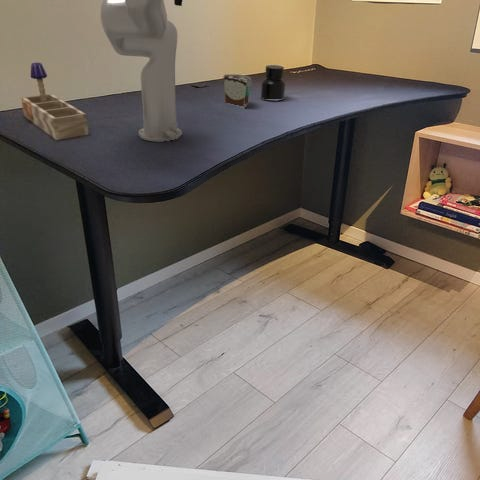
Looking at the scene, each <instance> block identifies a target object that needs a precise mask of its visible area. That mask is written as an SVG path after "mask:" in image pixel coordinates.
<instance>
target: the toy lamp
mask: <svg viewBox="0 0 480 480" xmlns="http://www.w3.org/2000/svg"><path fill="white" fill-rule="evenodd" d="M47 77H48V74H47V71H46V70H45V68H44V66H43V63H41V62H32V63H31V64H30V78H31V79H34V80H36V82H37V87H38V92H39V95H40V97H41V102H47V99H46V95H47V94H46V89H45V84H44V79H46V78H47Z"/></svg>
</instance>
